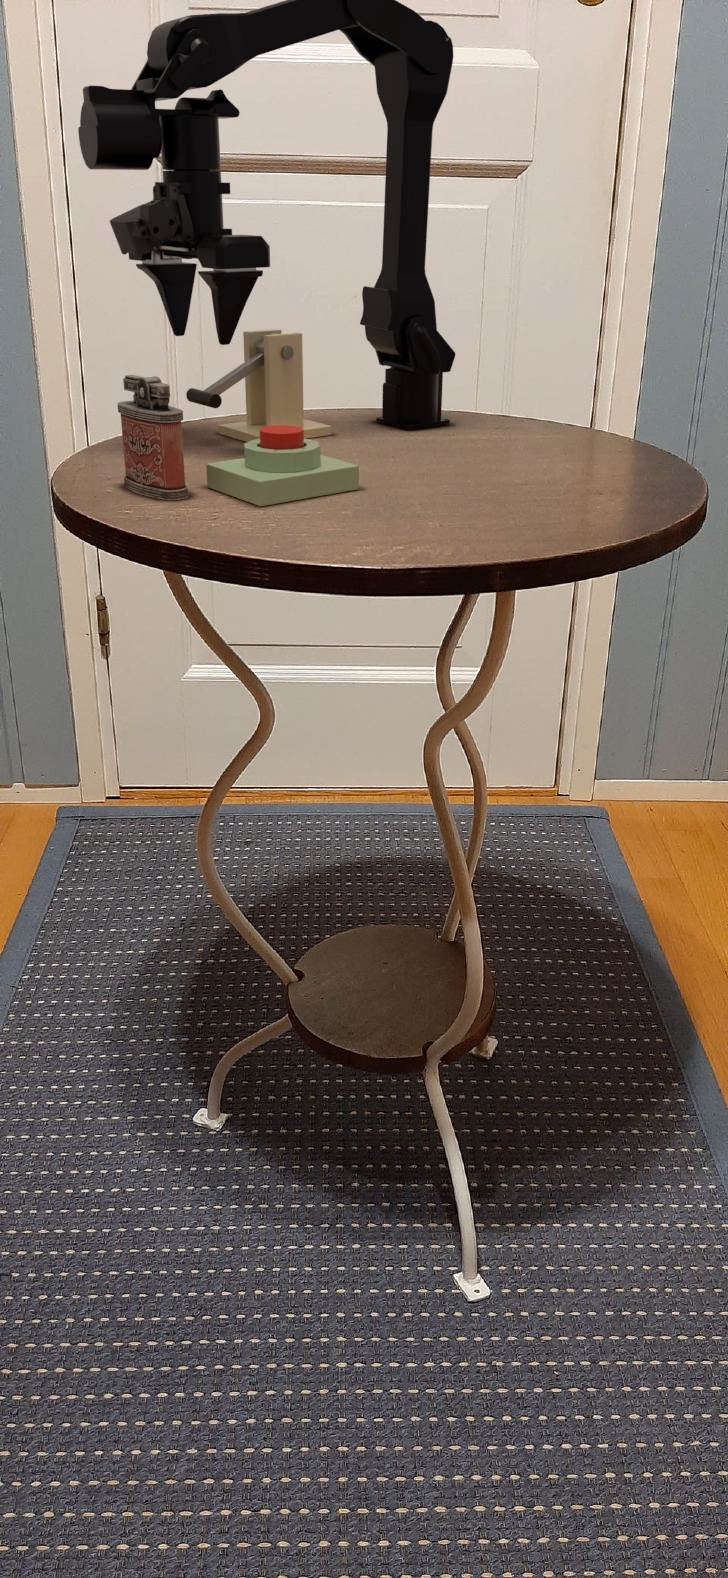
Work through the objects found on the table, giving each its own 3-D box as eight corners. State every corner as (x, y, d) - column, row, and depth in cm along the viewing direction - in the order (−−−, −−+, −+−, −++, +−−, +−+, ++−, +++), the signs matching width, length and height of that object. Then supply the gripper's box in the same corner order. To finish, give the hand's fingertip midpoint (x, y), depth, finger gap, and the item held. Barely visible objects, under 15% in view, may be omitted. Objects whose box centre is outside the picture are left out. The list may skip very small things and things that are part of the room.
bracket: (257, 445, 125) (254, 339, 120) (218, 433, 130) (213, 331, 125) (331, 435, 130) (331, 332, 125) (291, 424, 136) (289, 326, 131)
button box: (303, 472, 113) (302, 430, 111) (359, 489, 107) (359, 445, 105) (207, 487, 107) (204, 443, 105) (260, 506, 101) (258, 460, 99)
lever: (215, 415, 122) (206, 394, 120) (191, 408, 125) (182, 388, 124) (299, 356, 125) (291, 335, 124) (273, 351, 129) (265, 330, 127)
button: (287, 442, 108) (287, 423, 107) (312, 449, 105) (312, 430, 104) (251, 447, 106) (251, 428, 105) (276, 455, 103) (275, 435, 102)
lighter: (196, 496, 104) (190, 380, 100) (165, 502, 102) (157, 384, 97) (146, 480, 109) (138, 370, 105) (116, 486, 107) (106, 373, 103)
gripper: (74, 170, 115) (90, 336, 122) (166, 169, 102) (178, 355, 109) (172, 171, 121) (182, 329, 128) (270, 170, 108) (275, 347, 115)
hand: (201, 340), depth 120 cm, fingers open, 9 cm apart
